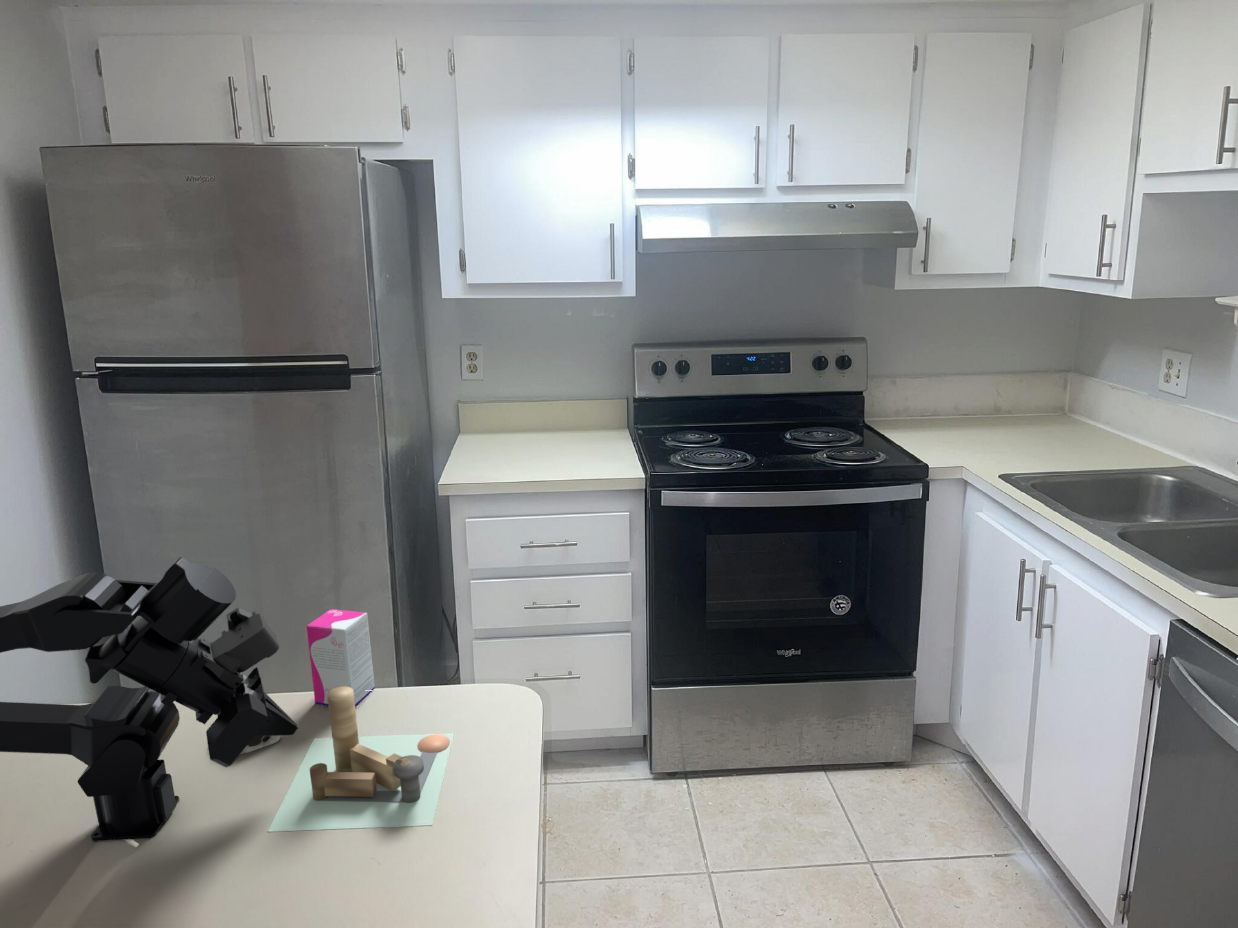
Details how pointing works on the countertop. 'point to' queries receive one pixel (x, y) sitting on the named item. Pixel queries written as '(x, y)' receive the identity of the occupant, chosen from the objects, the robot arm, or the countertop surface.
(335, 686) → the supplement box
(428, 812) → the card
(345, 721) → the rail
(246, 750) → the pastry
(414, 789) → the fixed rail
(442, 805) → the countertop surface
